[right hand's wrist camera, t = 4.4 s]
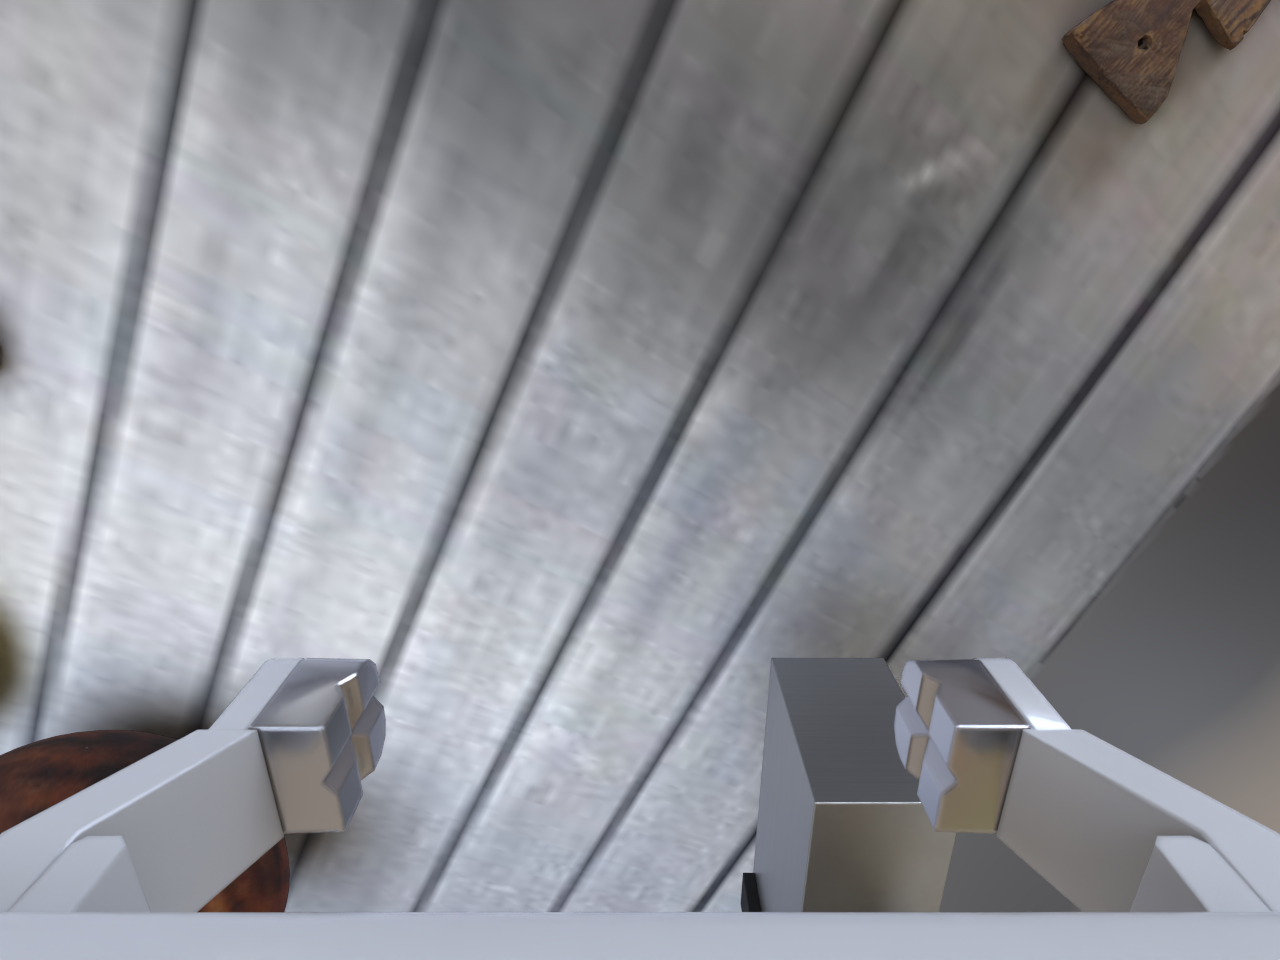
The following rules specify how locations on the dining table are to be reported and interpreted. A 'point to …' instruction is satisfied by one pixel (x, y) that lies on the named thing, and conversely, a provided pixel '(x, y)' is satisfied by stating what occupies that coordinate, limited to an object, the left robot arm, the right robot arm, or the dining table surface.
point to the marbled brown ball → (79, 760)
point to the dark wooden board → (1150, 45)
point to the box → (841, 796)
